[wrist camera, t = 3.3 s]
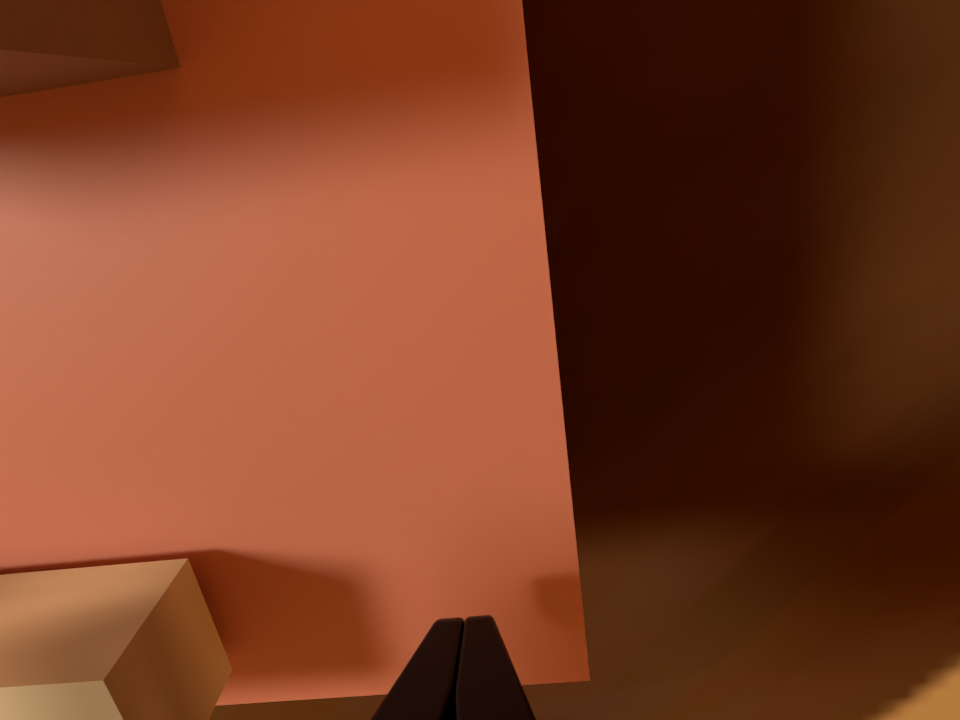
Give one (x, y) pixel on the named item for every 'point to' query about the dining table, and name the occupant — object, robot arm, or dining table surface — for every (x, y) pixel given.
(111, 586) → the tan wooden bar
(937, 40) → the dining table surface
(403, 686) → the robot arm
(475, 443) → the lid
